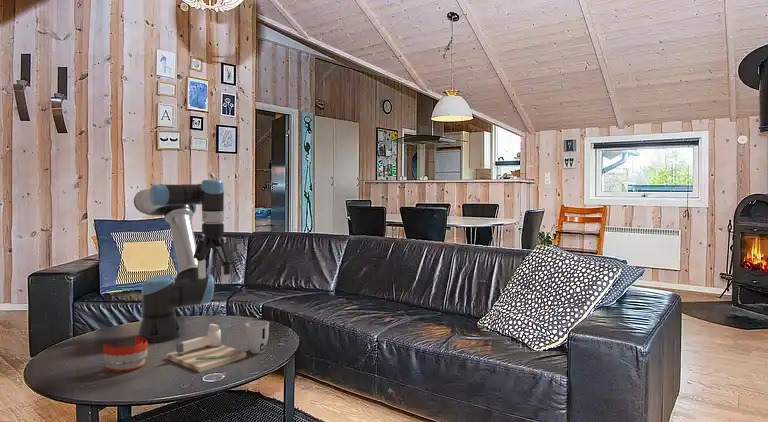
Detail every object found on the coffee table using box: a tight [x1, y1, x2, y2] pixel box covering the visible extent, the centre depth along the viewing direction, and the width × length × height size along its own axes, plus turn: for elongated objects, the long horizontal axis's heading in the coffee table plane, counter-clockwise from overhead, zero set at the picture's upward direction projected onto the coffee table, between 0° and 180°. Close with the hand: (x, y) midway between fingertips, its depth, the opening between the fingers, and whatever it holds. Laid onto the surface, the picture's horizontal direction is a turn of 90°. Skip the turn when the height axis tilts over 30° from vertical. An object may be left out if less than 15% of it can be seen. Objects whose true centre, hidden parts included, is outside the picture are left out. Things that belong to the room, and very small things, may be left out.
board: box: [165, 342, 247, 373], centre depth 181 cm, size 20×18×2 cm
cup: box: [245, 320, 270, 355], centre depth 187 cm, size 8×8×10 cm
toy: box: [102, 335, 149, 373], centre depth 171 cm, size 12×10×8 cm
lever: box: [176, 323, 222, 353], centre depth 183 cm, size 17×5×7 cm, turn 142°
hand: (213, 280), depth 191 cm, fingers open, 13 cm apart
